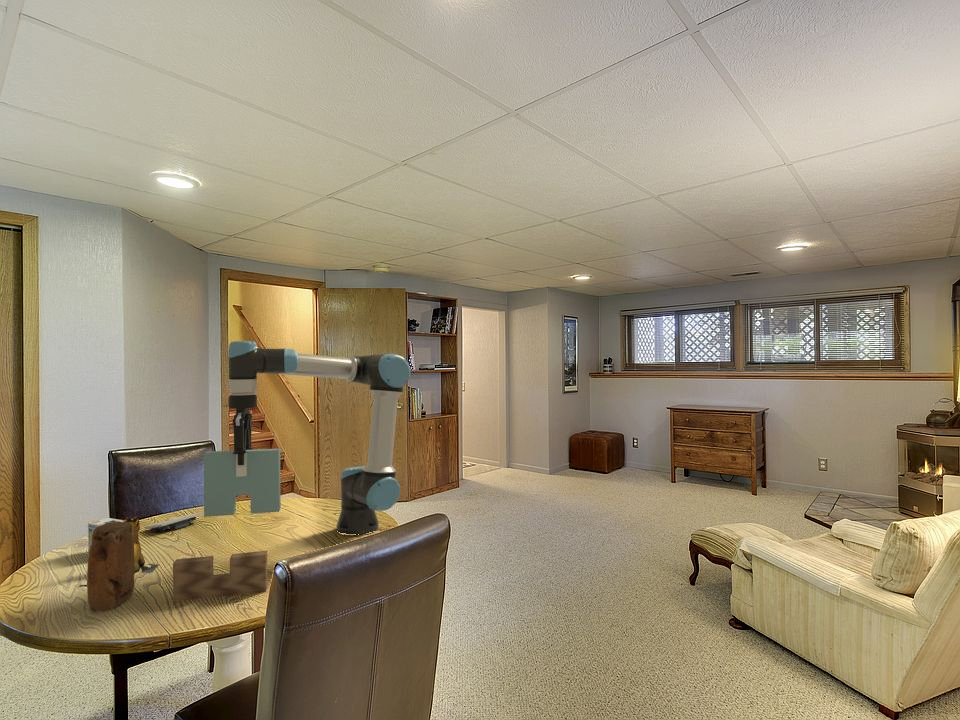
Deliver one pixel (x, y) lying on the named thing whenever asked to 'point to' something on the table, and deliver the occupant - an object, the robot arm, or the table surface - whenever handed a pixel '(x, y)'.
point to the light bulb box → (94, 525)
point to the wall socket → (174, 522)
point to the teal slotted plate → (241, 482)
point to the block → (110, 566)
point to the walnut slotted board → (219, 576)
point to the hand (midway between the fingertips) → (243, 474)
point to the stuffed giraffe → (139, 549)
